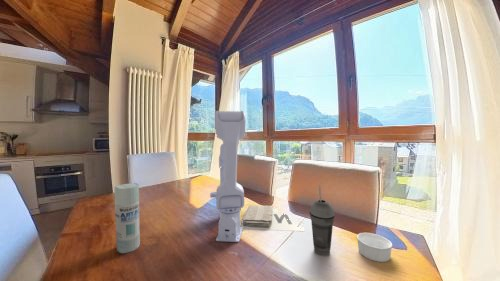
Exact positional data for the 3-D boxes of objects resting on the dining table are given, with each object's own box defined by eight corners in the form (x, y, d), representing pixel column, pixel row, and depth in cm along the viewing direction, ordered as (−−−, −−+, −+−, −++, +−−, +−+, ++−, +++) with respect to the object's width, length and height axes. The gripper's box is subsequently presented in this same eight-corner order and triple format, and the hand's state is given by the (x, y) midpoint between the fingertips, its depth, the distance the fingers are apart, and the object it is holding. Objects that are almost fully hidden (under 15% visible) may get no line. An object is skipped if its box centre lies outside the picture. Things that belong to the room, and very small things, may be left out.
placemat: (304, 231, 71) (304, 231, 71) (240, 229, 73) (240, 228, 73) (296, 209, 92) (296, 209, 92) (246, 208, 94) (246, 207, 94)
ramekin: (350, 246, 61) (350, 232, 61) (377, 244, 62) (377, 231, 62) (369, 264, 53) (370, 249, 52) (400, 263, 53) (400, 247, 53)
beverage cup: (318, 260, 54) (318, 190, 54) (304, 246, 61) (304, 184, 61) (340, 256, 56) (340, 188, 56) (324, 242, 63) (324, 182, 63)
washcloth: (241, 227, 75) (241, 219, 74) (248, 209, 92) (248, 202, 92) (272, 228, 73) (272, 220, 73) (273, 210, 91) (273, 203, 91)
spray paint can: (135, 239, 66) (134, 182, 66) (143, 246, 62) (141, 185, 62) (113, 248, 61) (111, 186, 61) (120, 256, 57) (118, 189, 57)
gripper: (244, 180, 87) (244, 210, 87) (213, 180, 88) (213, 209, 89) (242, 184, 80) (242, 217, 80) (208, 184, 81) (209, 216, 82)
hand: (227, 213), depth 84 cm, fingers closed
